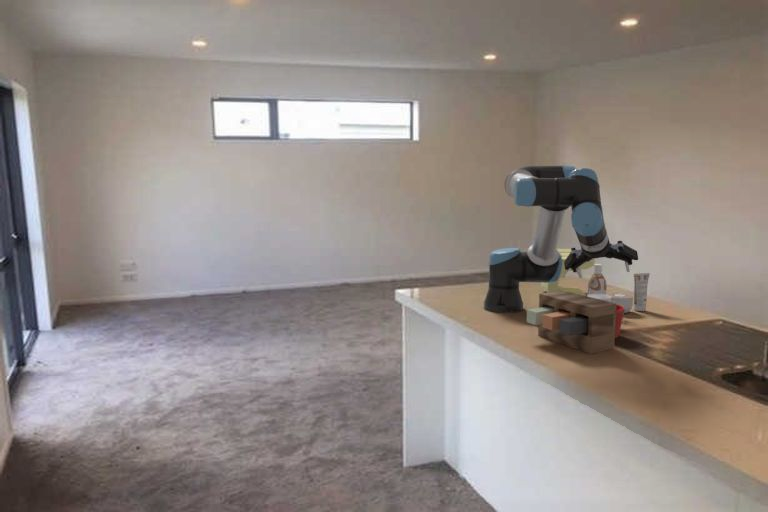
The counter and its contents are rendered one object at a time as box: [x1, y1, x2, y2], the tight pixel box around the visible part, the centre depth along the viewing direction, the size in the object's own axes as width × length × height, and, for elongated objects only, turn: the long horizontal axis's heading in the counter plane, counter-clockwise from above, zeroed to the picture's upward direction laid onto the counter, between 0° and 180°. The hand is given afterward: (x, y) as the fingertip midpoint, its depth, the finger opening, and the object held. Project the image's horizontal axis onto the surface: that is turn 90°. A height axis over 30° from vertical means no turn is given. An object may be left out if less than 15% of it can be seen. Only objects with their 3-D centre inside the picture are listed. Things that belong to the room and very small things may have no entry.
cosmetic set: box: [587, 263, 651, 314], centre depth 222 cm, size 25×9×19 cm, turn 102°
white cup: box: [586, 294, 611, 302], centre depth 206 cm, size 8×8×10 cm
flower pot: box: [615, 305, 625, 339], centre depth 192 cm, size 11×11×10 cm
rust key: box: [542, 310, 571, 330], centre depth 182 cm, size 4×10×4 cm, turn 119°
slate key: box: [559, 315, 589, 336], centre depth 176 cm, size 4×10×4 cm, turn 119°
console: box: [537, 291, 616, 355], centre depth 185 cm, size 22×10×14 cm, turn 29°
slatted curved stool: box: [540, 248, 596, 296], centre depth 253 cm, size 30×16×18 cm, turn 179°
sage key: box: [526, 306, 554, 326], centre depth 188 cm, size 4×10×4 cm, turn 119°
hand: (603, 271), depth 178 cm, fingers open, 13 cm apart
